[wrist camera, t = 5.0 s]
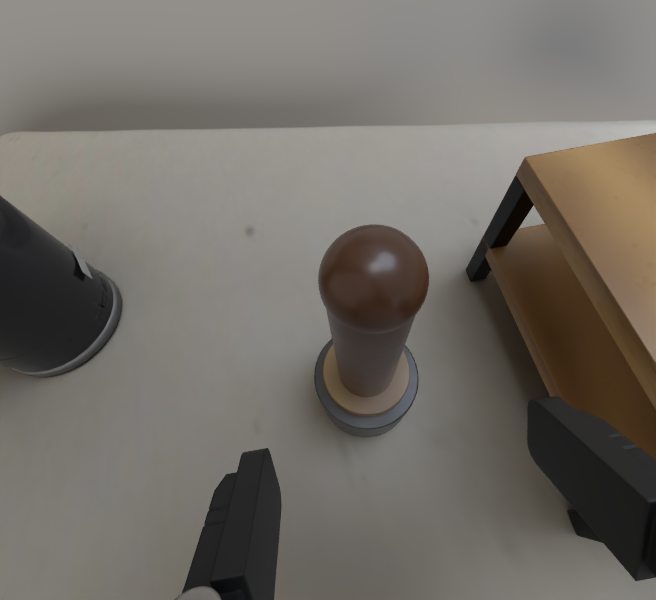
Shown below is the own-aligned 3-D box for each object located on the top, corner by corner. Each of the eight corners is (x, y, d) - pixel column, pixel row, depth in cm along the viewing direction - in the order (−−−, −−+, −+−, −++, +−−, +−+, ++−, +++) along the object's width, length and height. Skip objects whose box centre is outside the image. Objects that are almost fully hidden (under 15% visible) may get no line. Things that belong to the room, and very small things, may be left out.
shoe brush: (329, 444, 22) (267, 387, 7) (315, 357, 25) (251, 184, 10) (419, 428, 22) (545, 335, 7) (395, 343, 25) (451, 148, 10)
